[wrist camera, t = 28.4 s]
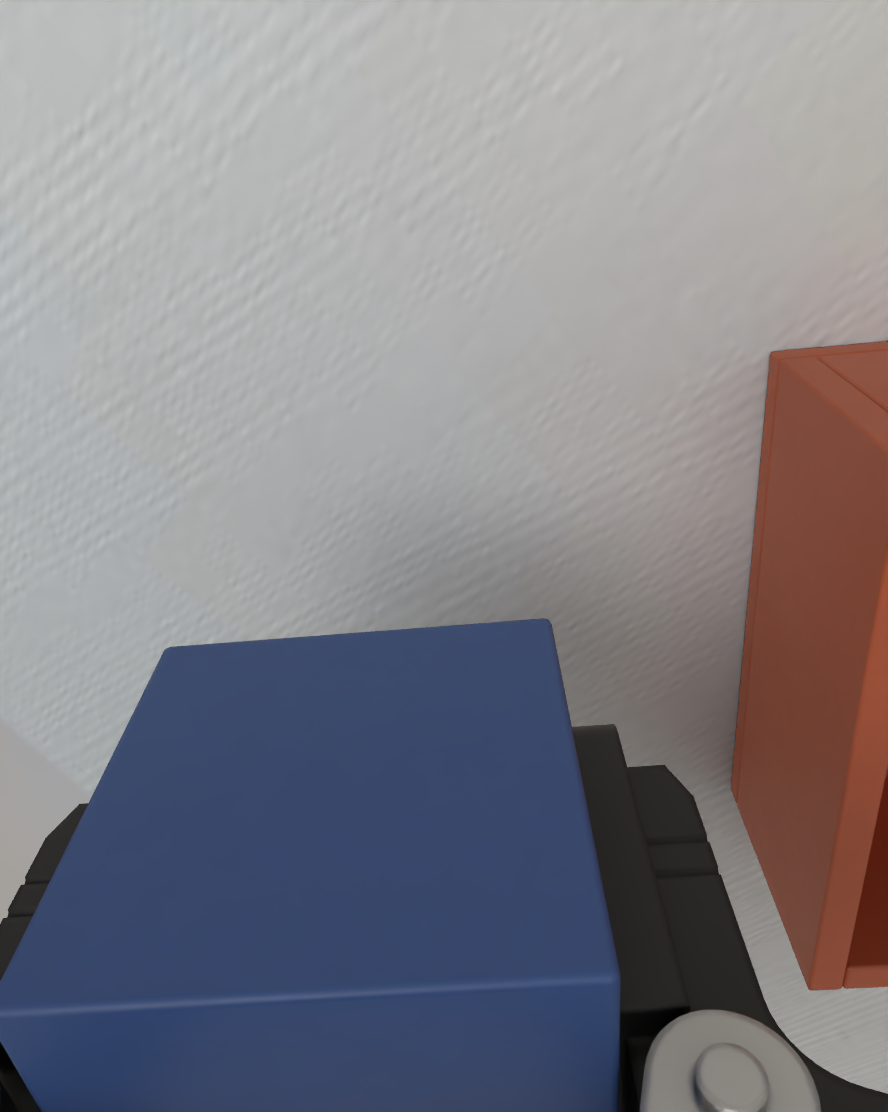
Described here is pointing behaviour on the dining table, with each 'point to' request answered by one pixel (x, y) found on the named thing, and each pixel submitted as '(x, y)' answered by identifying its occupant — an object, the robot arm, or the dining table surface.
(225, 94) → the dining table surface
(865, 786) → the orange bin
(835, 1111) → the robot arm
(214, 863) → the blue block
